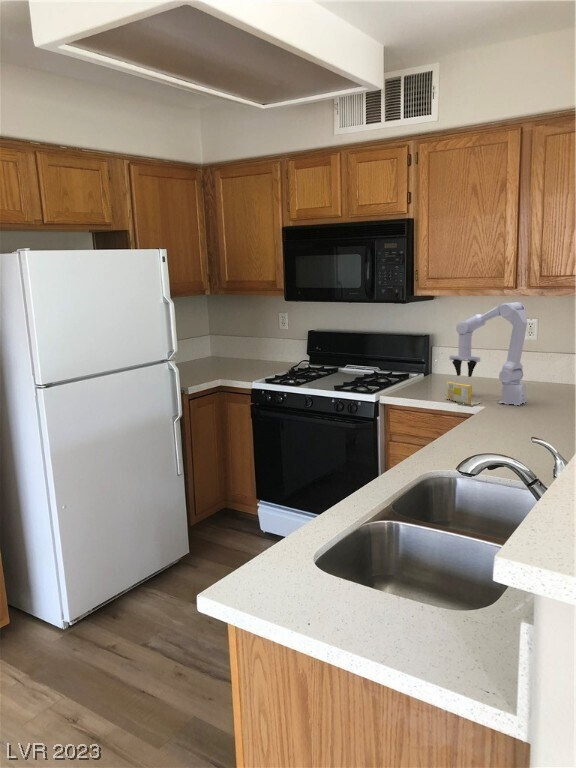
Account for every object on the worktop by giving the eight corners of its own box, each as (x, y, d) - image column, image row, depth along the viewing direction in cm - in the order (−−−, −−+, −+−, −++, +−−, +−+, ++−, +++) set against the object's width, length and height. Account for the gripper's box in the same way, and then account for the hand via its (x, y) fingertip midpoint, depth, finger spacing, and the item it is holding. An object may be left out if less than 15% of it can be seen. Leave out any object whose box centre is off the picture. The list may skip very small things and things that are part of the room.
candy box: (472, 404, 268) (472, 385, 267) (468, 405, 267) (468, 386, 266) (449, 399, 283) (449, 381, 281) (445, 399, 282) (445, 381, 281)
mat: (482, 402, 273) (482, 402, 272) (472, 406, 265) (472, 406, 265) (468, 401, 277) (468, 400, 277) (457, 404, 270) (457, 404, 270)
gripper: (483, 347, 283) (482, 376, 286) (454, 345, 293) (454, 373, 295) (476, 348, 278) (475, 378, 280) (447, 347, 288) (447, 375, 290)
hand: (464, 376), depth 287 cm, fingers open, 5 cm apart
